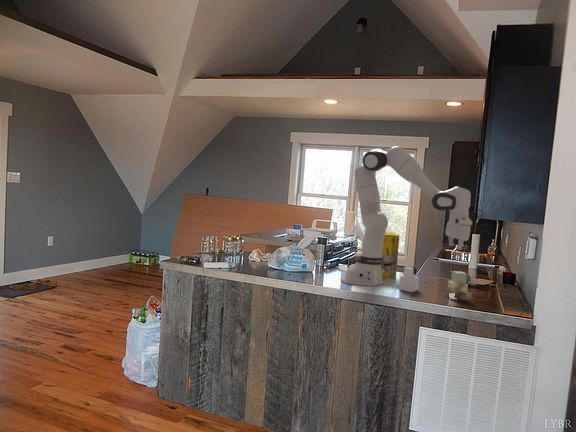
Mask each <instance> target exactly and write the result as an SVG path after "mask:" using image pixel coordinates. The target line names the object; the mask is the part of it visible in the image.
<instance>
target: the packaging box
mask: <svg viewBox="0 0 576 432" xmlns="http://www.w3.org/2000/svg"><path fill="white" fill-rule="evenodd" d="M399 246H400V235H399V234H397V233H396V232H391V231H386V233H385V237H384V242H383V251H382V257H383V264H382V268H381V271H382V279H387V280H388V279H389V280H391V279H392V280H396V279H397V273H398V272H397V271H398V270H397V269H398V257H399Z"/></svg>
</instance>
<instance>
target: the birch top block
mask: <svg viewBox="0 0 576 432" xmlns="http://www.w3.org/2000/svg"><path fill="white" fill-rule="evenodd" d="M468 286H469V284H468V283H466V284H460V283H454V282H452V280H447V288H448V289H449V290H451V291H453V292H466V293H467V294H468V288H469V287H468Z"/></svg>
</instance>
